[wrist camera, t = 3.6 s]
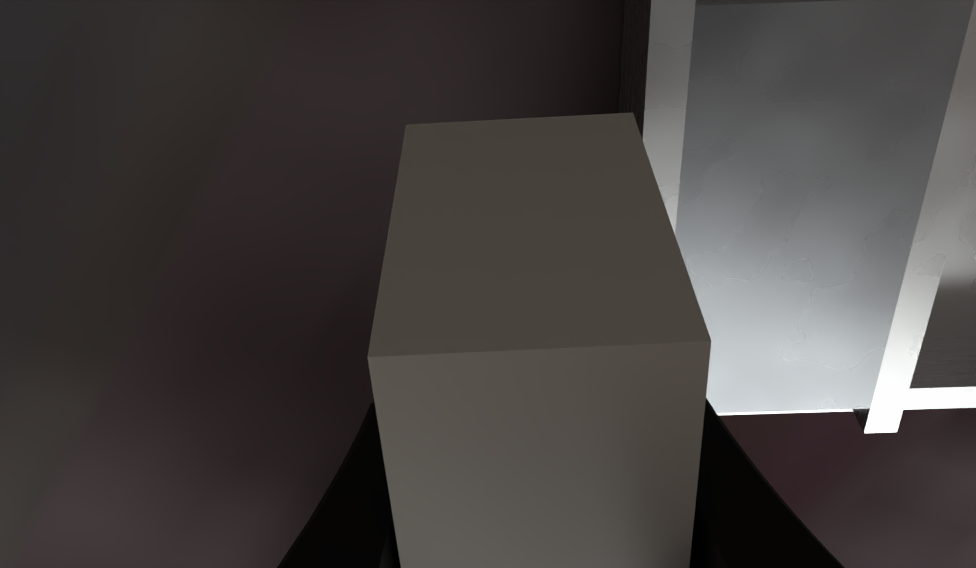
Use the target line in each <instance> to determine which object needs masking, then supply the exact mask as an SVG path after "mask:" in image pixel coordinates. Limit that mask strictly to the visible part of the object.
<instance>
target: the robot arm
mask: <svg viewBox="0 0 976 568" xmlns="http://www.w3.org/2000/svg"><path fill="white" fill-rule="evenodd" d="M277 568H401V565H400V559H399V553H398V546H397V540H396V534H395V528H394V521H393V515H392V509H391V503H390V496H389V490H388V484H387V477H386V471H385V465H384V459H383V452H382V446H381V440H380V433H379V427H378V421H377V415H376V408H375V402H373V403H372V404H371V405H370V407H369V409H368V412H367V414H366V417H365V419H364V421H363V423H362V425H361V427H360V430H359V432H358V434H357V436H356V438H355V440H354V442H353V444H352V446H351V448H350V450H349V452H348V454H347V455H346V457H345V459H344V461H343V463H342V465H341V467H340V468H339V470H338V472H337V474H336V476H335V477H334V479H333V481H332V482H331V484H330V486H329V488H328V489H327V491H326V493H325V494H324V496H323V498H322V499H321V501H320V503H319V504H318V506H317V508H316V510H315V511H314V513H313V515H312V516H311V518H310V519H309V521H308V522H307V524H306V526H305V527H304V529H303V530H302V531H301V533H300V534H299V536H298V537H297V539H296V540H295V542H294V543H293V545H292V546H291V548H290V549H289V551H288V552H287V554H286V555H285V557H284V558H283V560H282V561H281V563H280V564H279V566H278V567H277ZM689 568H844V567H843V566H842V565H841V564H840V563H839V561H838V560H837V559H836V558H835V557H834V556H833V555H832V554H831V553H830V552H829V551H828V550H827V549H826V548H825V547H824V546H823V545H822V544H821V542H820V541H819V540H818V539H817V538H816V537H815V536H814V535H813V534H812V533H811V532H810V530H809V529H808V528H807V527H806V526H805V525H804V524H803V523H802V522H801V520H800V519H799V518H798V517H797V516H796V515H795V514H794V512H793V511H792V510H791V509H790V508H789V507H788V506H787V504H786V503H785V502H784V501H783V499H782V498H781V497H780V496H779V495H778V493H777V492H776V491H775V490H774V488H773V487H772V486H771V485H770V484H769V482H768V481H767V480H766V479H765V478H764V476H763V475H762V474H761V473H760V471H759V470H758V469H757V468H756V466H755V465H754V464H753V462H752V461H751V460H750V459H749V457H748V456H747V455H746V453H745V452H744V451H743V449H742V448H741V447H740V445H739V444H738V443H737V441H736V440H735V438H734V437H733V436H732V434H731V433H730V432H729V430H728V429H727V427H726V426H725V425H724V423H723V422H722V420H721V419H720V417H719V416H718V414H717V413H716V412H715V410H714V409H713V407H712V406H711V404H710V403H709V401H708V399H707V398H706V402H705V412H704V422H703V433H702V443H701V453H700V463H699V474H698V484H697V494H696V504H695V514H694V525H693V535H692V545H691V555H690V565H689Z"/></svg>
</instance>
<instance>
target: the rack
mask: <svg viewBox="0 0 976 568" xmlns="http://www.w3.org/2000/svg"><path fill="white" fill-rule="evenodd" d="M619 113H633V114H634V117H635V120H636V123H637V126H638V129H639V132H640V135H641V138H642V141H643V144H644V146H645V149H646V152H647V155H648V158H649V161H650V164H651V167H652V170H653V173H654V176H655V178H656V181H657V184H658V187H659V190H660V193H661V196H662V199H663V202H664V205H665V207H666V210H667V213H668V216H669V219H670V222H671V225H672V228H673V231H674V234H675V237H676V239H677V242H678V245H679V248H680V251H681V254H682V257H683V260H684V263H685V266H686V269H687V271H688V274H689V277H690V280H691V283H692V286H693V289H694V292H695V295H696V298H697V300H698V303H699V306H700V309H701V312H702V315H703V318H704V321H705V324H706V327H707V330H708V332H709V335H710V338H711V351H710V361H709V371H708V382H707V392H706V398H707V399H708V401H709V403H710V404H711V406H712V407H713V409H714V410H715V412H716V413H717V414H718V415H744V414H777V413H810V412H843V411H853V412H854V414H855V416H856V418H857V420H858V422H859V424H860V426H861V428H862V430H863V433H888V432H897V430H898V427H899V423H900V420H901V416H902V412H903V410H909V409H942V408H975V407H976V0H624V5H623V27H622V50H621V72H620V94H619Z"/></svg>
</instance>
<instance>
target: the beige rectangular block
mask: <svg viewBox="0 0 976 568" xmlns="http://www.w3.org/2000/svg"><path fill="white" fill-rule="evenodd" d="M710 351H711V338H710V335H709V332H708V330H707V327H706V324H705V321H704V318H703V315H702V312H701V309H700V306H699V303H698V300H697V298H696V295H695V292H694V289H693V286H692V283H691V280H690V277H689V274H688V271H687V269H686V266H685V263H684V260H683V257H682V254H681V251H680V248H679V245H678V242H677V239H676V237H675V234H674V231H673V228H672V225H671V222H670V219H669V216H668V213H667V210H666V207H665V205H664V202H663V199H662V196H661V193H660V190H659V187H658V184H657V181H656V178H655V176H654V173H653V170H652V167H651V164H650V161H649V158H648V155H647V152H646V149H645V146H644V144H643V141H642V138H641V135H640V132H639V129H638V126H637V123H636V120H635V117H634V114H633V113H615V114H596V115H577V116H559V117H540V118H521V119H502V120H483V121H464V122H446V123H427V124H408V125H406V127H405V133H404V139H403V145H402V151H401V158H400V164H399V170H398V176H397V182H396V188H395V194H394V200H393V206H392V212H391V218H390V224H389V230H388V236H387V242H386V248H385V254H384V260H383V266H382V272H381V278H380V284H379V290H378V296H377V302H376V308H375V314H374V320H373V326H372V332H371V338H370V344H369V350H368V356H367V358H368V364H369V371H370V377H371V383H372V390H373V396H374V402H375V408H376V415H377V421H378V427H379V433H380V440H381V446H382V452H383V459H384V465H385V471H386V477H387V484H388V490H389V496H390V503H391V509H392V515H393V521H394V528H395V534H396V540H397V546H398V553H399V559H400V565H401V568H689V565H690V555H691V545H692V535H693V525H694V514H695V504H696V494H697V484H698V474H699V463H700V453H701V443H702V433H703V422H704V412H705V402H706V392H707V382H708V371H709V361H710Z"/></svg>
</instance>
